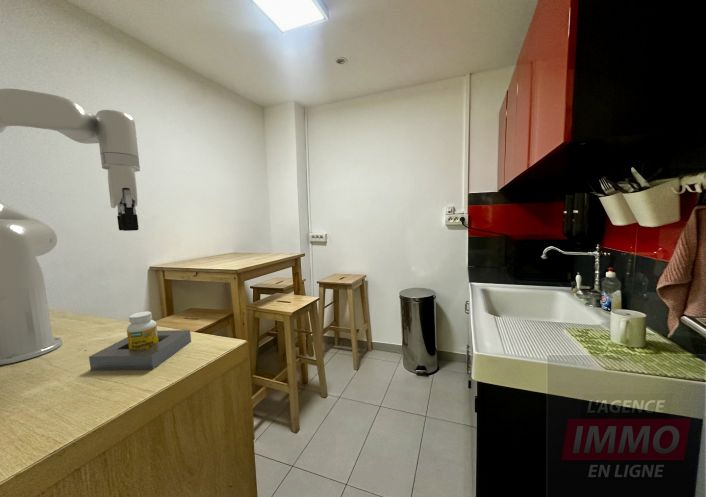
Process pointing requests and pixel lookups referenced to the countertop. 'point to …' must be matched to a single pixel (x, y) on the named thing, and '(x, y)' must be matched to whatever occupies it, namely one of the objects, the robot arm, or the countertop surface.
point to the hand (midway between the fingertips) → (128, 230)
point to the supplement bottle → (142, 331)
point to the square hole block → (140, 353)
